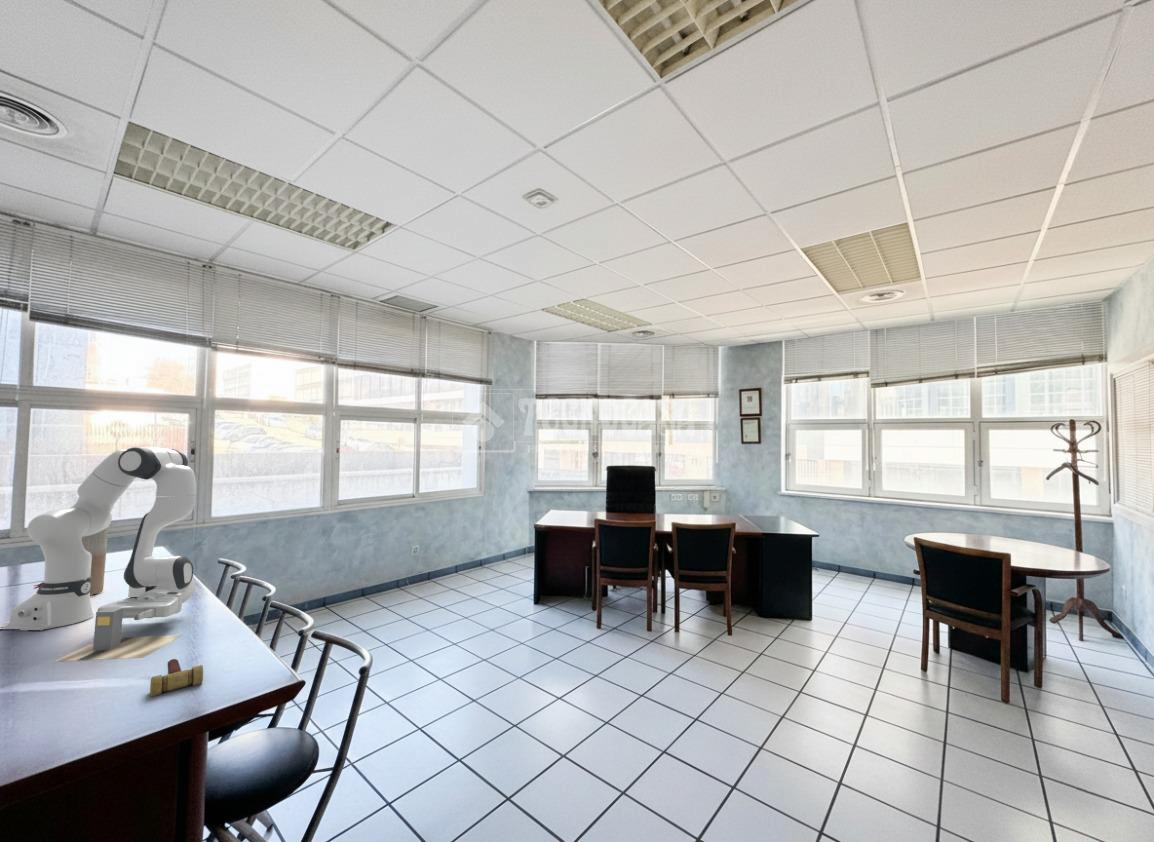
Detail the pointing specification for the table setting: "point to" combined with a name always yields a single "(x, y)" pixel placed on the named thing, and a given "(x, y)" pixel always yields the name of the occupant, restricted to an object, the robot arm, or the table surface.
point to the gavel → (175, 678)
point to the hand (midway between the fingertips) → (119, 618)
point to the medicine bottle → (139, 591)
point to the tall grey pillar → (108, 629)
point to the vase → (97, 558)
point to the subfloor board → (122, 649)
